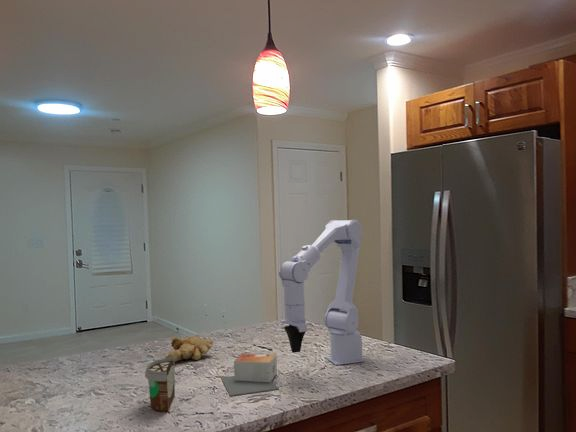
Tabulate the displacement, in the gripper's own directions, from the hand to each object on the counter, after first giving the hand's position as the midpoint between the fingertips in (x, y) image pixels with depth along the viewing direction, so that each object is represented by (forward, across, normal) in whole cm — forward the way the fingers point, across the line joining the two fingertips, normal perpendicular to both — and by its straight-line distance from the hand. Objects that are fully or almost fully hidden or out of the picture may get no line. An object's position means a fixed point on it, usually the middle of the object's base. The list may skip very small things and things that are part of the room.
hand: (295, 351), depth 133 cm
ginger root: (+8, -32, -27) cm, 42 cm away
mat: (+7, 0, -14) cm, 16 cm away
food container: (+7, +6, -38) cm, 39 cm away
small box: (+4, -1, -6) cm, 7 cm away
